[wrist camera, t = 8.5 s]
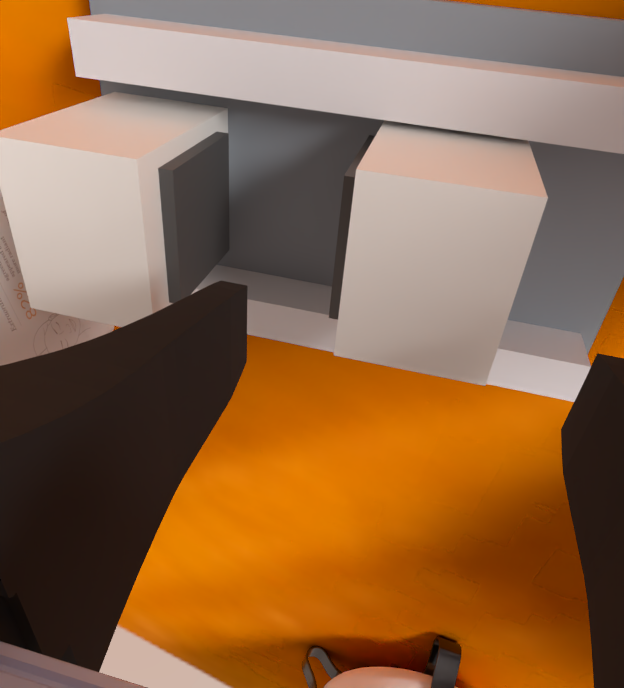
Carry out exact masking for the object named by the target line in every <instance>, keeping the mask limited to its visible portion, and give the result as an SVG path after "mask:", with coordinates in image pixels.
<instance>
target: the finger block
mask: <svg viewBox="0 0 624 688" xmlns="http://www.w3.org/2000/svg"><path fill="white" fill-rule="evenodd" d="M547 199H548V196H547V193H546V190H545V188H544V185H543V182H542V179H541V176H540V173H539V170H538V167H537V164H536V161H535V159H534V156H533V153H532V150H531V147H530V144H529V141H528V140H521V139H514V138H507V137H500V136H493V135H486V134H479V133H471V132H464V131H457V130H450V129H443V128H436V127H429V126H422V125H415V124H408V123H401V122H394V121H387V120H384V122H383V124H382V126H381V127H380V129H379V131H378V132H377V134H376V136H372V135H369V136H368V138H367V140H366V141H365V143H364V144H363V146H362V148H361V149H360V151H359V152H358V154H357V156H356V157H355V159H354V161H353V162H352V164H351V165H350V167H349V169H348V170H347V172H346V173H345V175H344V181H343V190H342V200H341V209H340V218H339V227H338V236H337V246H336V255H335V264H334V273H333V282H332V292H331V301H330V310H329V318H332V319H337V320H338V324H337V332H336V340H335V349H334V356H339V357H344V358H349V359H354V360H359V361H364V362H369V363H374V364H379V365H384V366H389V367H394V368H399V369H404V370H409V371H414V372H419V373H424V374H429V375H434V376H438V377H443V378H448V379H453V380H458V381H463V382H468V383H473V384H478V385H483V386H485V385H486V382H487V379H488V376H489V373H490V370H491V367H492V364H493V361H494V358H495V355H496V352H497V349H498V346H499V343H500V340H501V337H502V334H503V331H504V328H505V325H506V322H507V319H508V316H509V313H510V310H511V307H512V304H513V301H514V298H515V295H516V292H517V289H518V286H519V283H520V280H521V277H522V274H523V271H524V268H525V265H526V262H527V259H528V256H529V253H530V250H531V247H532V244H533V241H534V238H535V235H536V232H537V229H538V226H539V223H540V220H541V217H542V214H543V211H544V208H545V205H546V202H547Z"/></svg>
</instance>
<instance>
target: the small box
mask: <svg viewBox="0 0 624 688" xmlns="http://www.w3.org/2000/svg"><path fill="white" fill-rule="evenodd" d="M113 330H114V325H109V324H104V323H100V322H95V321H90V320H86V319H81V318H76V317H71V316H67V315H62V314H57V313H53V312H48V311H43V310H39V309H34V308H31V307H30V303H29V299H28V295H27V291H26V287H25V283H24V279H23V275H22V272H21V268H20V264H19V260H18V256H17V252H16V248H15V244H14V240H13V236H12V232H11V228H10V224H9V220H8V216H7V213H6V209H5V205H4V201H3V197H2V193H1V189H0V366H1V365H6V364H10V363H13V362H17V361H21V360H25V359H29V358H32V357H36V356H40V355H44V354H48V353H52V352H55V351H58V350H62V349H65V348H68V347H71V346H74V345H77V344H80V343H83V342H86V341H89V340H91V339H94V338H97V337H99V336H102V335H105V334H107V333H110V332H112V331H113Z"/></svg>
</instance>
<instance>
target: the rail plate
mask: <svg viewBox="0 0 624 688" xmlns="http://www.w3.org/2000/svg"><path fill="white" fill-rule="evenodd" d="M89 3H90V11H91V15H89V16H80V17H71V18H67V21H68V27H69V34H70V40H71V47H72V53H73V60H74V66H75V73H76V77H83V78H90V79H98V80H100V87H101V94H102V96H101V97H98V98H95V99H92V100H89V101H86V102H83V103H80V104H77V105H74V106H71V107H68V108H65V109H62V110H59V111H56V112H53V113H50V114H47V115H44V116H41V117H38V118H35V119H32V120H29V121H26V122H23V123H20V124H17V125H15V126H12V127H9V128H6V129H3V130H0V189H1V193H2V197H3V201H4V205H5V209H6V213H7V216H8V220H9V224H10V228H11V232H12V236H13V240H14V244H15V248H16V252H17V256H18V260H19V264H20V268H21V272H22V275H23V279H24V283H25V287H26V291H27V295H28V299H29V303H30V307H31V308H34V309H39V310H43V311H48V312H53V313H57V314H62V315H67V316H71V317H76V318H81V319H86V320H90V321H95V322H100V323H104V324H109V325H114V326H119V327H124V326H126V325H128V324H130V323H133V322H135V321H137V320H139V319H142V318H144V317H146V316H149V315H151V314H153V313H155V312H157V311H159V310H161V309H163V308H165V307H167V306H169V305H171V304H173V303H175V302H177V301H179V300H181V299H183V298H185V297H187V296H189V295H191V294H193V293H195V292H197V291H199V290H201V289H203V288H205V287H207V286H209V285H211V284H213V283H216V282H218V281H226V282H232V283H237V284H242V285H247V286H248V291H247V334H248V335H253V336H258V337H263V338H267V339H272V340H277V341H282V342H287V343H292V344H296V345H301V346H306V347H311V348H316V349H320V350H325V351H330V352H334V349H335V340H336V332H337V324H338V320H337V319H332V318H329V310H330V301H331V292H332V282H333V273H334V264H335V255H336V246H337V236H338V227H339V218H340V209H341V200H342V190H343V181H344V175H345V173H346V172H347V170H348V169H349V167H350V165H351V164H352V162H353V161H354V159H355V157H356V156H357V154H358V152H359V151H360V149H361V148H362V146H363V144H364V143H365V141H366V140H367V138H368V136H369V135H372V136H376V134H377V132H378V131H379V129H380V127H381V126H382V124H383V122H384V120H387V121H394V122H401V123H408V124H415V125H422V126H429V127H436V128H443V129H450V130H457V131H464V132H471V133H479V134H486V135H493V136H500V137H507V138H514V139H521V140H528V141H529V144H530V147H531V150H532V153H533V156H534V159H535V161H536V164H537V167H538V170H539V173H540V176H541V179H542V182H543V185H544V188H545V190H546V193H547V196H548V199H547V202H546V205H545V208H544V211H543V214H542V217H541V220H540V223H539V226H538V229H537V232H536V235H535V238H534V241H533V244H532V247H531V250H530V253H529V256H528V259H527V262H526V265H525V268H524V271H523V274H522V277H521V280H520V283H519V286H518V289H517V292H516V295H515V298H514V301H513V304H512V307H511V310H510V313H509V316H508V319H507V322H506V325H505V328H504V331H503V334H502V337H501V340H500V343H499V346H498V349H497V352H496V355H495V358H494V361H493V364H492V367H491V370H490V373H489V376H488V379H487V382H486V384H490V385H494V386H499V387H504V388H509V389H514V390H519V391H523V392H528V393H533V394H538V395H543V396H548V397H552V398H557V399H562V400H567V401H572V402H575V400H576V398H577V395H578V393H579V391H580V389H581V387H582V385H583V383H584V381H585V379H586V377H587V374H588V372H589V370H590V368H591V365H590V362H589V358H588V352H589V350H590V348H591V346H592V344H593V342H594V339H595V337H596V335H597V333H598V331H599V329H600V327H601V324H602V322H603V320H604V318H605V316H606V314H607V311H608V309H609V307H610V305H611V303H612V301H613V299H614V296H615V294H616V292H617V290H618V288H619V286H620V283H621V281H622V279H623V277H624V20H621V19H612V18H603V17H594V16H584V15H575V14H566V13H556V12H547V11H538V10H529V9H519V8H510V7H501V6H492V5H482V4H473V3H464V2H454V1H445V0H89Z"/></svg>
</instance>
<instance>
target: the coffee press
mask: <svg viewBox="0 0 624 688" xmlns="http://www.w3.org/2000/svg"><path fill="white" fill-rule="evenodd" d="M310 656H314V657H316V658H318V659H319V660H320V662H321V663H322V665H323V667H324V668H325V670H326V672H327V673H328V675H329V676H330V677H331V678H332V679H331V680H330V681H329V682H328V683H327V684H326V685H325V686H324V687H323V688H458V687H456V686H455V682H456V677H457V673H458V668H459V664H460V659H461V646H460V644H457V643H455V642H452V641H449V640H447V639H444V638H441V637H438V636H437V637H436V638H435V640H434V642H433V645H432V649H431V652H430V656H429V659H428V662H427V665H426V667H425V669H424V671H423V672H422V673H420V672H416V671H411V670H407V669H401V668H393V667H364V668H358V669H353V670H349V671H346V672H344V673H342V672H341V671H339V670H338V669H337V668H336V667H335V665H334V664H333V662H332V661H331V659H330V657H329V656H328V654H327V652H326V651H325V650H324V649H323V648H322V647H319V646H313V647H311V648H310V649H309V650H308V651H307V653H306V655H305V657H304V659H303V662H302V669H303V672H304V675H305V678H306V681H307V683H308V686H309V688H317V685H316V680H315V677H314V674H313V671H312V669H311V666H310V664H309V660H308V657H310Z"/></svg>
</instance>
